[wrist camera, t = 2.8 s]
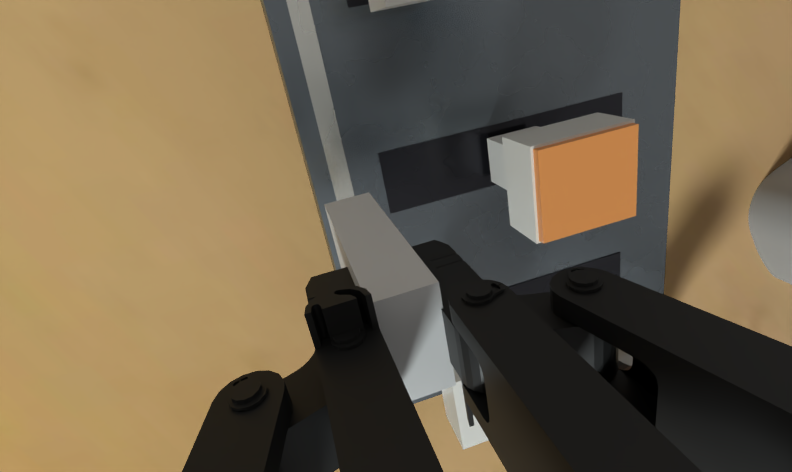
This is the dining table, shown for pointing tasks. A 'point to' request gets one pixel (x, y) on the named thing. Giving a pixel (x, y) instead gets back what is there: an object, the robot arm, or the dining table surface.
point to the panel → (478, 117)
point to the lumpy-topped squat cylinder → (774, 221)
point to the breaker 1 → (390, 4)
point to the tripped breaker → (567, 175)
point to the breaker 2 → (461, 416)
